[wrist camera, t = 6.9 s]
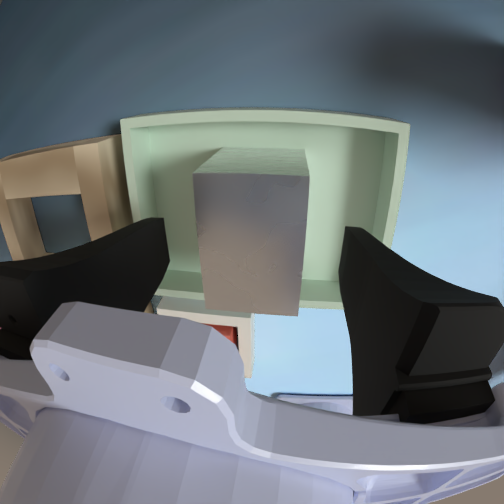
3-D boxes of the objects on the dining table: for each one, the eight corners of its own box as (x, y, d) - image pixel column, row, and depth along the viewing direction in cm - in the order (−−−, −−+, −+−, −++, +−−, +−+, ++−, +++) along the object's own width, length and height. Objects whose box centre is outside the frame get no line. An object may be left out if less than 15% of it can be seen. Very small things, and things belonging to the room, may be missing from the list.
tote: (366, 284, 18) (374, 310, 16) (163, 271, 19) (148, 294, 17) (392, 118, 13) (410, 124, 11) (143, 114, 14) (120, 119, 12)
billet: (304, 149, 14) (309, 176, 10) (298, 256, 17) (297, 316, 13) (222, 147, 14) (192, 173, 10) (227, 252, 17) (205, 308, 13)
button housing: (254, 358, 22) (251, 378, 21) (180, 349, 23) (172, 367, 21) (254, 297, 19) (250, 318, 18) (166, 289, 20) (156, 308, 18)
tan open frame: (171, 372, 25) (162, 394, 23) (75, 350, 26) (64, 366, 24) (121, 134, 15) (97, 142, 13) (9, 155, 16) (-14, 165, 14)
